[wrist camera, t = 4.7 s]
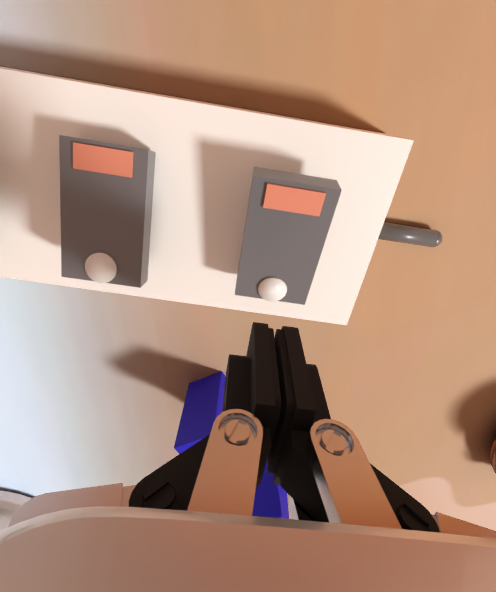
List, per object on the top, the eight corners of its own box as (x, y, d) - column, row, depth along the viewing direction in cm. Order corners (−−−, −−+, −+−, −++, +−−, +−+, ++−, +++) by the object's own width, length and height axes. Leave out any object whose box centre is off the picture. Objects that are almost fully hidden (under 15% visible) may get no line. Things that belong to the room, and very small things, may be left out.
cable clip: (298, 452, 32) (307, 521, 26) (255, 464, 33) (255, 533, 27) (238, 363, 26) (234, 427, 21) (189, 382, 27) (174, 447, 22)
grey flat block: (302, 290, 18) (304, 306, 17) (236, 281, 18) (234, 296, 17) (336, 180, 15) (342, 191, 14) (254, 166, 14) (253, 176, 13)
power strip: (405, 305, 23) (428, 336, 20) (-67, 237, 21) (-121, 260, 18) (476, 149, 18) (520, 159, 15) (-131, 43, 16) (-219, 30, 13)
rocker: (147, 280, 17) (139, 288, 16) (73, 270, 17) (60, 277, 15) (155, 152, 15) (147, 149, 14) (73, 138, 15) (57, 134, 14)
